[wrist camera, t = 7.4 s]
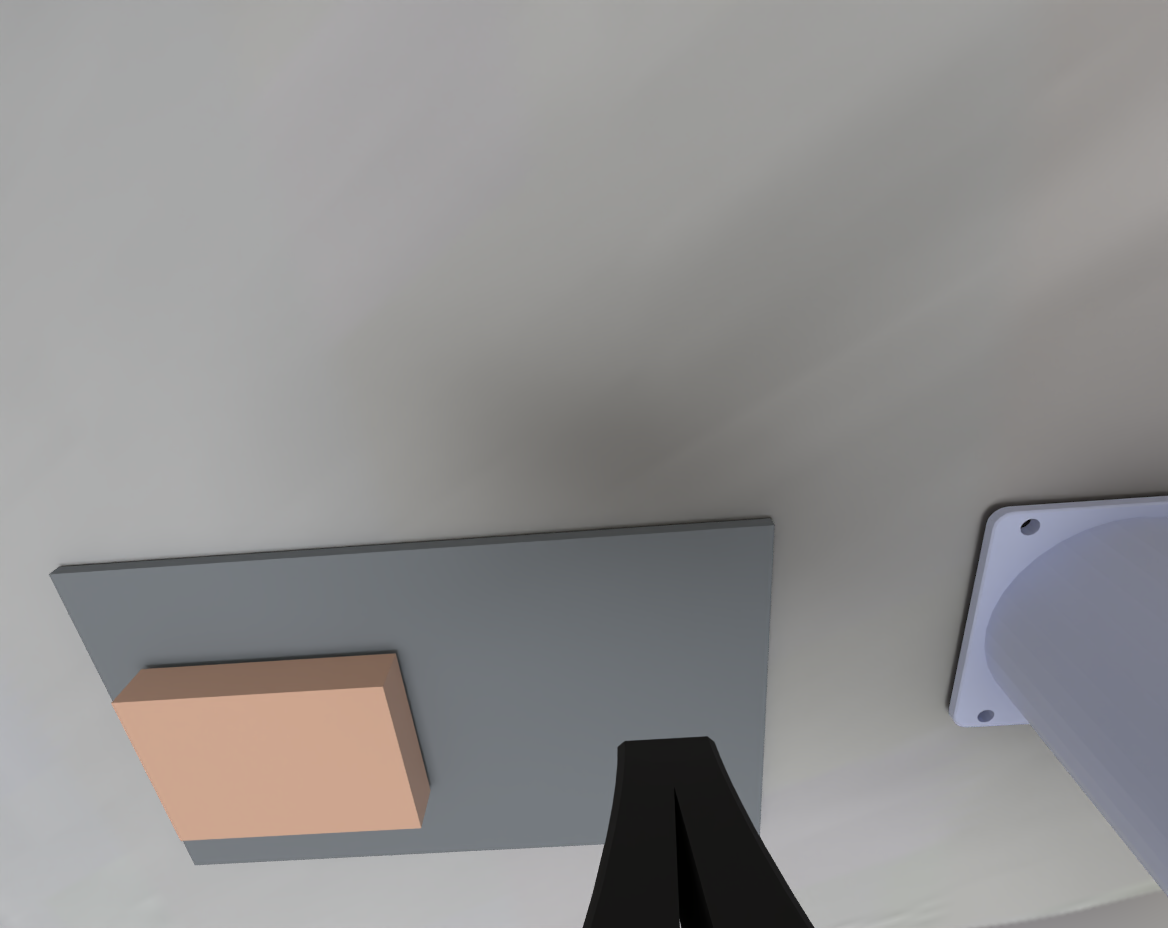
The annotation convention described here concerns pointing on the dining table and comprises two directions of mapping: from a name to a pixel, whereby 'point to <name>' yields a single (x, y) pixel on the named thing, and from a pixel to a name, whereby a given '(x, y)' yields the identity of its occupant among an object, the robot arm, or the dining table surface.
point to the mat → (479, 662)
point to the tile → (278, 746)
